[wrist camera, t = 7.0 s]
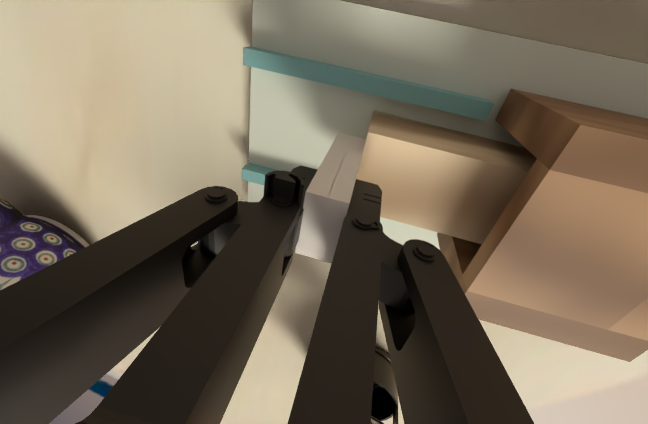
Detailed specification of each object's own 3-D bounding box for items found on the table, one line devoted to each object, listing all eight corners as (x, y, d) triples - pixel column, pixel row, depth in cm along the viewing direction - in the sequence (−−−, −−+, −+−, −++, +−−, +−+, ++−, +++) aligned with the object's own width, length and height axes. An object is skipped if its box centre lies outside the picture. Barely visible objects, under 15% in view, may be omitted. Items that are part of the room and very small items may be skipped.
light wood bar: (373, 110, 16) (368, 132, 12) (600, 165, 15) (658, 205, 12) (356, 174, 18) (347, 207, 15) (551, 226, 17) (589, 273, 14)
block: (510, 88, 14) (580, 124, 9) (690, 127, 13) (880, 192, 8) (436, 234, 19) (452, 311, 14) (563, 267, 18) (629, 361, 13)
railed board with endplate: (259, -16, 14) (86, -72, 6) (905, 117, 12) (1909, 292, 4) (251, 200, 22) (167, 303, 14) (655, 308, 19) (840, 506, 11)
